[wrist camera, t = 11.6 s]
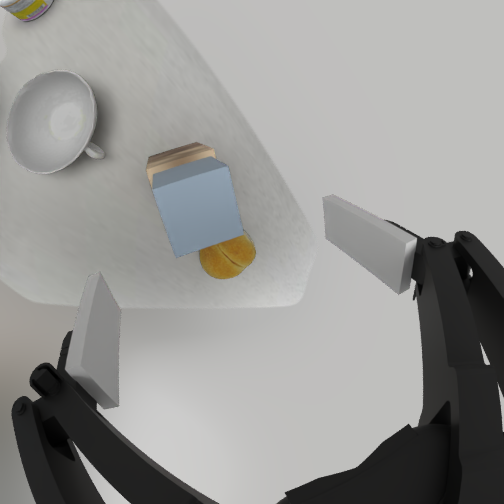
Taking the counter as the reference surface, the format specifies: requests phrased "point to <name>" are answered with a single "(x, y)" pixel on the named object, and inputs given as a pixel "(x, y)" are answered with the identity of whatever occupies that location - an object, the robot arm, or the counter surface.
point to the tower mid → (178, 160)
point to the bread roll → (228, 257)
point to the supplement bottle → (26, 8)
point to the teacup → (52, 122)
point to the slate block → (197, 205)
